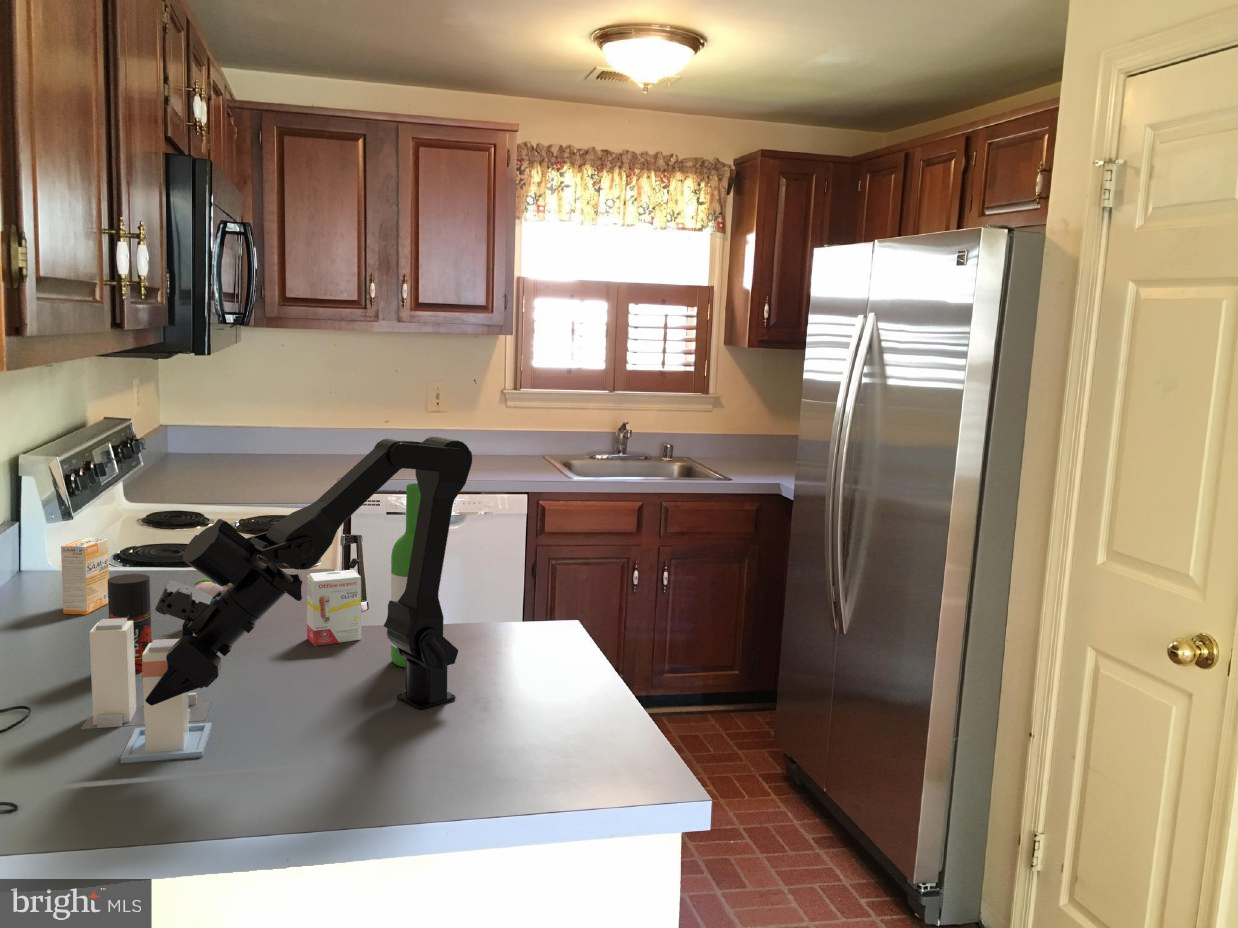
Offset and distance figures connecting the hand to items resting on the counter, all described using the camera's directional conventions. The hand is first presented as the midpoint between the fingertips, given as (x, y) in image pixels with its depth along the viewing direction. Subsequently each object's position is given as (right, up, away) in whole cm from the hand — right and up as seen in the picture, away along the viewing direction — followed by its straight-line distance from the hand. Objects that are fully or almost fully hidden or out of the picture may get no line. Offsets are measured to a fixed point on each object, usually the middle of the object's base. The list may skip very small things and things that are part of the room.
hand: (154, 689), depth 125 cm
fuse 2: (+1, -7, +1) cm, 8 cm away
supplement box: (-42, +1, +61) cm, 74 cm away
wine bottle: (+26, -4, +37) cm, 45 cm away
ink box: (+9, -2, +47) cm, 48 cm away
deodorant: (-17, -4, +29) cm, 34 cm away
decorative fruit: (-13, -1, +53) cm, 54 cm away
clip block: (-6, -7, +11) cm, 14 cm away
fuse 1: (-10, -6, +9) cm, 15 cm away
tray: (+1, -8, +1) cm, 8 cm away
